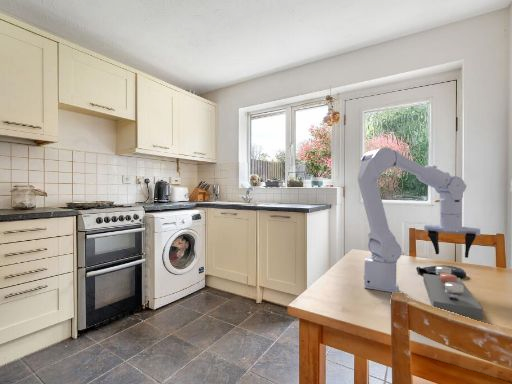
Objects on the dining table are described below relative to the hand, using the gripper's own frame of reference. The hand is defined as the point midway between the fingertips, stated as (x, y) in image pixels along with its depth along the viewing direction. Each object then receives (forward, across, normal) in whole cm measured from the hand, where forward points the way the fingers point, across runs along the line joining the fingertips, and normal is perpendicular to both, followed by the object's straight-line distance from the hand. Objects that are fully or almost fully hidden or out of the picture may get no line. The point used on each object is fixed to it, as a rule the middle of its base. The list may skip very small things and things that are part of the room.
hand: (451, 255), depth 87 cm
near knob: (+7, -2, +20) cm, 21 cm away
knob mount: (+10, 0, +12) cm, 15 cm away
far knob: (+7, +2, +4) cm, 9 cm away
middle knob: (+7, 0, +12) cm, 14 cm away
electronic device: (+11, +4, -10) cm, 15 cm away
